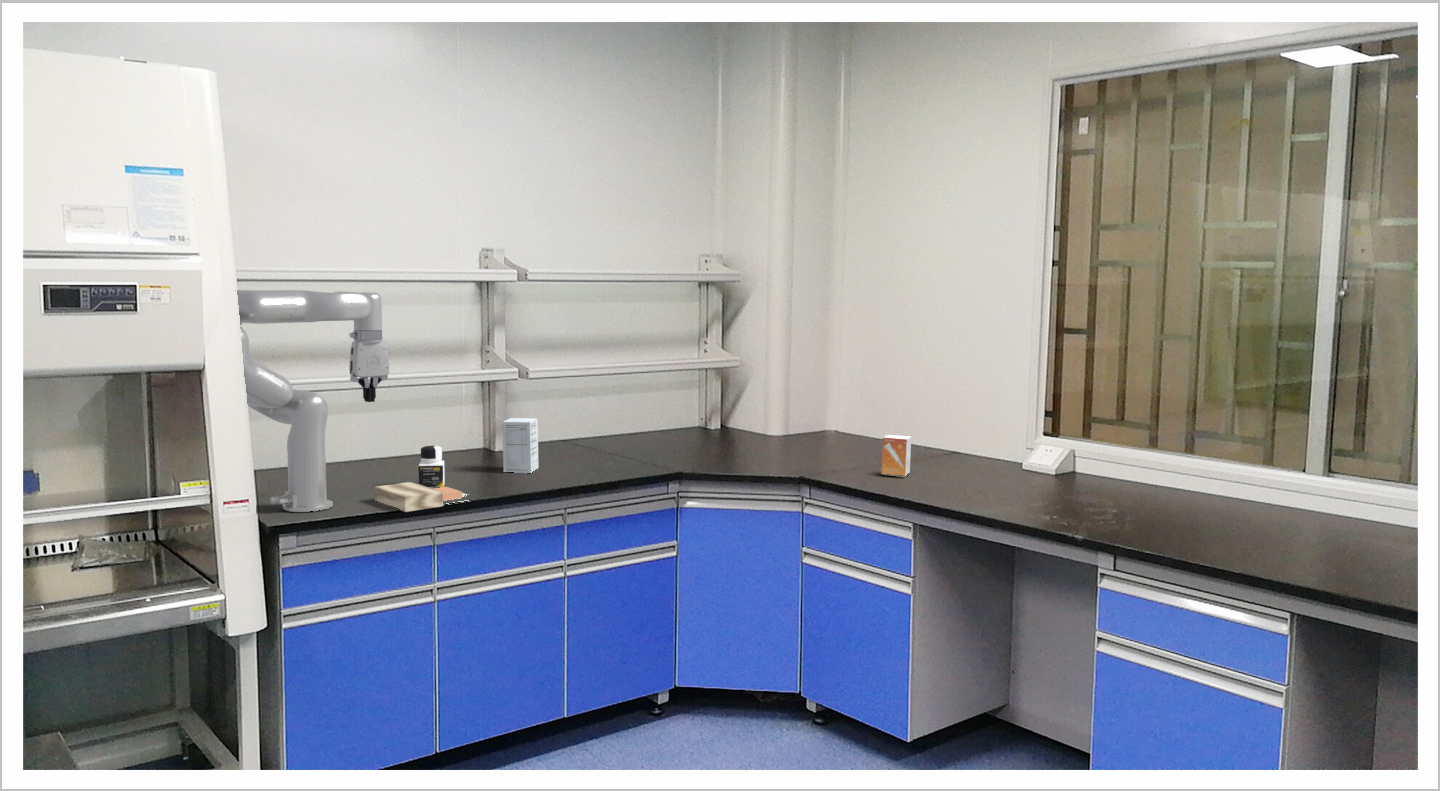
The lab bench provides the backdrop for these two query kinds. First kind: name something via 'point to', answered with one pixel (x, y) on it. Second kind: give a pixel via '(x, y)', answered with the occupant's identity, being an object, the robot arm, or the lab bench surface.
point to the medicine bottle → (431, 467)
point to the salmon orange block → (449, 493)
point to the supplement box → (520, 445)
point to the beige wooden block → (408, 496)
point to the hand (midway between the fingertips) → (369, 401)
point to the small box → (896, 455)
